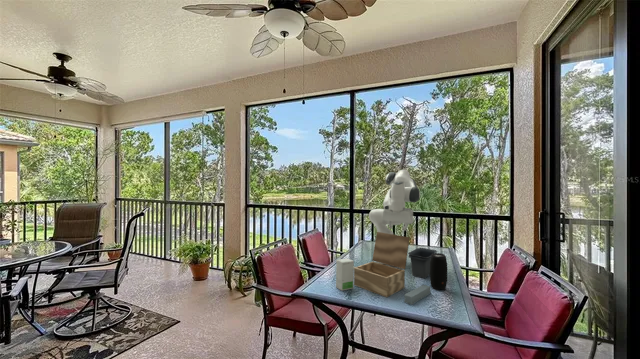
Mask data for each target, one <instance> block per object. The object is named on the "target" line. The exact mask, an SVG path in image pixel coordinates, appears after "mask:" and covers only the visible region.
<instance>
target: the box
mask: <svg viewBox="0 0 640 359" xmlns="http://www.w3.org/2000/svg"><path fill="white" fill-rule="evenodd" d="M405 270H406V269H401V268H398V267H394V266H391V265H387V264H381V263H378V262H376V261H371V262H370V261H369V262H366V263H365V264H361V265H358V266H355V268H354V280H353V286H355V287H359V288H361V289H363V290H366V291H369V292H371V293H374V294H377V295H380V296H382V297H384V298H388V297H391V296H392V295H394V294H396V293H397V292H400V291H402V290H403V289H405V287H406V285H405V281H406V280H405V279H406V278H405V276H406V272H405Z"/></svg>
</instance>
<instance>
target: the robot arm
mask: <svg viewBox="0 0 640 359" xmlns="http://www.w3.org/2000/svg"><path fill="white" fill-rule="evenodd" d="M385 183H386V184H387V185H389V186H390V188H389V189H388V191H387V192H386V194H385V197H384V200H383V202H382V205H383V208H375V209H371V210H370V212H369V213H368V218H369V221H370V222H371V223H372V224H373V225H374V226H375V229H376V232H381V233H387V234H393V235H394V232H393V231H392V230H391V229H393V226H396V225H398V226H399V225H401V224H403V225H404V226H403V227H402V231H405V232H406V231H407V227H408V226H409V225H412V224H413V223H414V211H413V209H411V208H409V207H406V203H417V202H419V200H420V199H421V192H420V189H419V187H418V186H417V183H416V181H415V179H412V178H411V175H410V172H409V171H408V170H407V169H400V170H398V171H397V172H395V171H391V172H388V173H387V175H386V176H385ZM387 225H388V226H387ZM377 263H380V262H377ZM380 264H383V263H380Z"/></svg>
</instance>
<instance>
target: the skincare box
mask: <svg viewBox="0 0 640 359" xmlns="http://www.w3.org/2000/svg"><path fill="white" fill-rule="evenodd" d="M335 262H336V264H335V265H336V267H335V269H336V271H335V272H336V273H335V287H336V289H338V290H340V291H347V290H352V289H353V290H354V264H355V263H354V262H355V261H354V260H352V259H350V258H341V259H336V261H335Z"/></svg>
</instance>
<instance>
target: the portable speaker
mask: <svg viewBox="0 0 640 359" xmlns="http://www.w3.org/2000/svg"><path fill="white" fill-rule="evenodd" d="M429 281H430V288H432V290H435V291H439V290H443V291H446V289H447V283H448V261H447V256H446V255H445V254H444V253H441V252H440V253H439V252H437V254H431V261H430V275H429Z"/></svg>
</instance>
